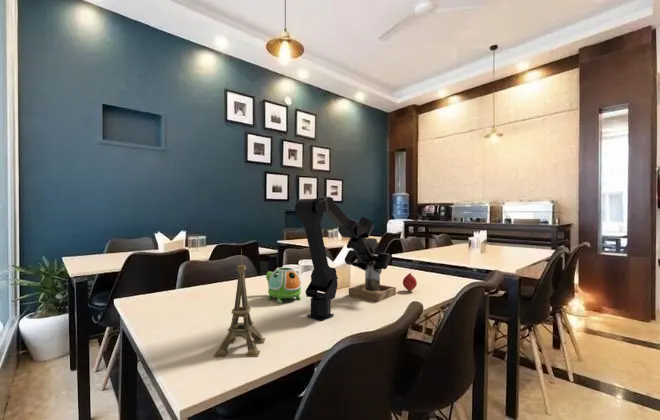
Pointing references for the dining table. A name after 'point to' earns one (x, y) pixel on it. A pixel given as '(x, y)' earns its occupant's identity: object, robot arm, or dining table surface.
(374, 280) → the tin
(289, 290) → the turtle holder
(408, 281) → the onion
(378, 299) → the tray
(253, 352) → the eiffel tower
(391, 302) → the dining table surface
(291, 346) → the dining table surface
